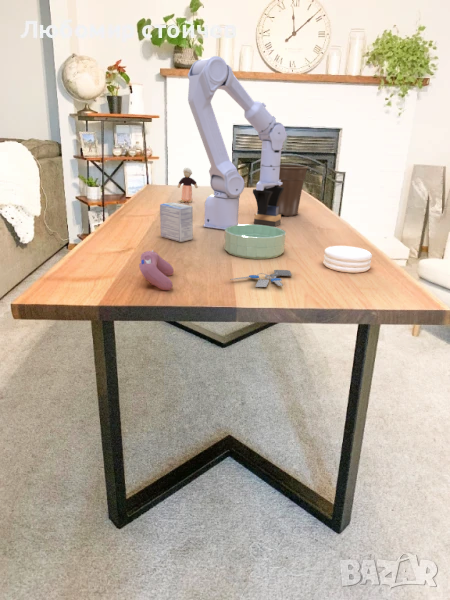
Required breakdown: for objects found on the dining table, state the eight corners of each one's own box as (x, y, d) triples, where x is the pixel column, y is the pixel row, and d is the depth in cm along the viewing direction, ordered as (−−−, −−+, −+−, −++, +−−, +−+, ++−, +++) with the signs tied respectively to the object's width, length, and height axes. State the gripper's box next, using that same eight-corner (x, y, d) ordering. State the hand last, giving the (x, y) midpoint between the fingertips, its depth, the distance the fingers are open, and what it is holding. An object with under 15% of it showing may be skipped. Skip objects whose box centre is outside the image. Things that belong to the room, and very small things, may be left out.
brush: (253, 223, 136) (254, 205, 134) (259, 221, 140) (260, 203, 138) (275, 226, 133) (276, 208, 131) (280, 224, 137) (281, 206, 135)
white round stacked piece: (313, 262, 99) (315, 246, 98) (350, 258, 103) (352, 243, 101) (341, 275, 90) (343, 258, 89) (379, 271, 94) (382, 255, 93)
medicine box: (193, 240, 114) (193, 206, 111) (180, 242, 111) (180, 208, 108) (173, 234, 119) (172, 202, 116) (160, 237, 116) (159, 203, 113)
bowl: (213, 253, 103) (214, 232, 101) (240, 241, 115) (240, 222, 113) (270, 263, 97) (272, 240, 95) (292, 249, 109) (293, 229, 107)
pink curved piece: (155, 281, 87) (137, 250, 85) (175, 271, 87) (158, 240, 84) (151, 299, 78) (132, 265, 76) (174, 289, 78) (155, 254, 75)
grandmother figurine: (177, 202, 168) (177, 167, 163) (177, 200, 172) (177, 166, 167) (197, 203, 169) (198, 168, 164) (197, 201, 172) (197, 167, 168)
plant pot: (271, 207, 165) (275, 162, 159) (311, 213, 156) (316, 165, 150) (248, 213, 153) (250, 164, 147) (289, 219, 144) (294, 168, 138)
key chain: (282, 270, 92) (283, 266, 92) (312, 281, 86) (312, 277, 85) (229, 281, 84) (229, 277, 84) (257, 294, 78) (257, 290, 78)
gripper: (273, 168, 123) (270, 217, 127) (291, 165, 135) (287, 210, 140) (250, 166, 125) (248, 214, 130) (269, 164, 138) (266, 207, 142)
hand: (267, 212), depth 135 cm, fingers open, 7 cm apart
